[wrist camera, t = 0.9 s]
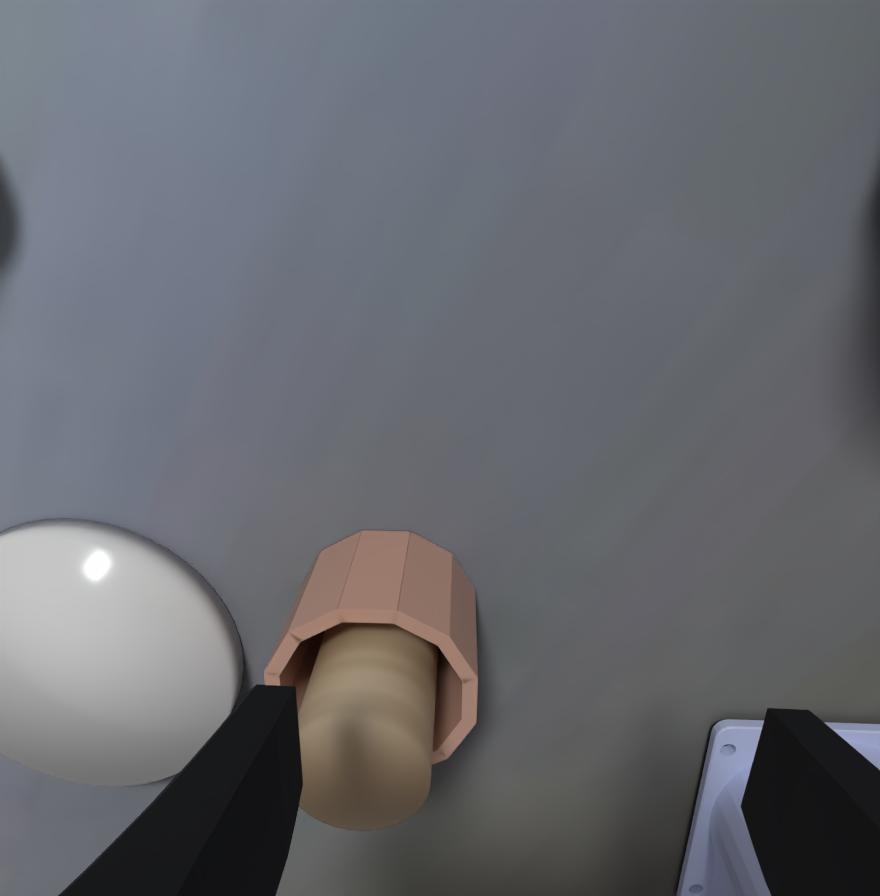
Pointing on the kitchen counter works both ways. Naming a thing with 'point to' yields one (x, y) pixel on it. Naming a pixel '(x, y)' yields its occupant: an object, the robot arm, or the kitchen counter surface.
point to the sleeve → (389, 618)
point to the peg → (368, 726)
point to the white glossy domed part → (109, 654)
